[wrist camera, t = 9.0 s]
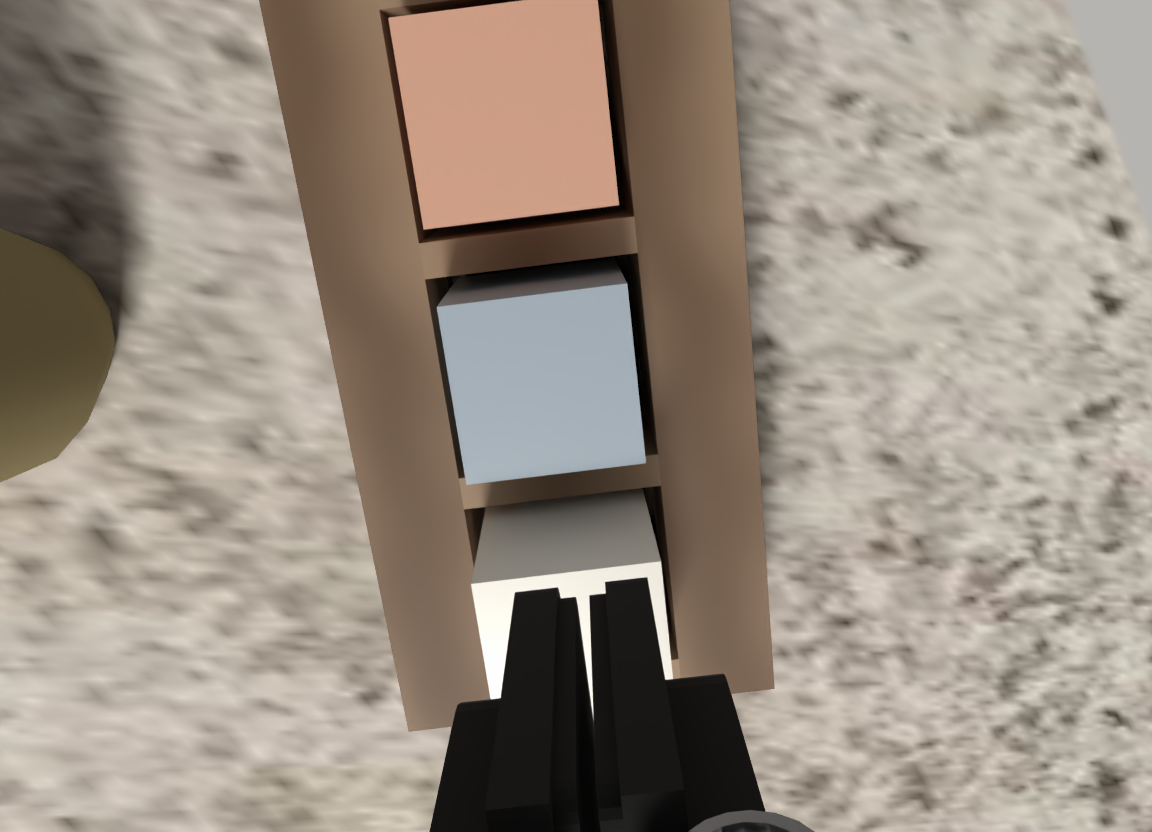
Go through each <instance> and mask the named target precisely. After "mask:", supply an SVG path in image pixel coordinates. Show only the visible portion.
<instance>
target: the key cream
mask: <svg viewBox="0 0 1152 832" xmlns="http://www.w3.org/2000/svg"><path fill="white" fill-rule="evenodd" d="M644 577H647V578H648V583H649V589H650V595H651V601H652V606H653V612H654V618H655V624H656V629H657V635H658V641H659V647H660V652H661V658H662V664H663V670H664V675H665V680H669V679H673V673H672V664H671V654H670V644H669V634H668V625H667V615H666V605H665V596H664V586H663V576H662V566H661V559H660V555H659V551H658V547H657V543H656V539H655V535H654V532H653V528H652V524H651V520H650V516H649V512H648V508H647V504H646V500H645V496H644V492H643V488H638V489H629V490H621V491H613V492H604V493H596V494H588V495H580V496H571V497H563V498H555V499H546V500H538V501H530V502H522V503H513V504H505V505H497V506H488V507H486V509H485V514H484V519H483V524H482V529H481V534H480V540H479V545H478V550H477V555H476V560H475V566H474V571H473V576H472V581H471V587H472V593H473V599H474V605H475V611H476V617H477V622H478V628H479V634H480V640H481V646H482V651H483V657H484V663H485V669H486V675H487V681H488V686H489V692H490V698H491V699H497V698H501V690H502V683H503V675H504V668H505V661H506V653H507V646H508V639H509V631H510V624H511V616H512V609H513V602H514V595H515V592H521V591H530V590H539V589H548V588H556V587H558V589H559V592H560V597H561V598H570V597H576V599H577V604H578V611H579V618H580V626H581V633H582V640H583V647H584V655H585V662H586V669H587V677H588V684H589V691H590V698H591V706H592V713H593V689H592V661H591V632H590V603H589V595H596V594H605V593H606V591H605V582H609V581H618V580H626V579H635V578H644ZM593 720H594V718H593Z"/></svg>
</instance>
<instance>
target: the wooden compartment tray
mask: <svg viewBox="0 0 1152 832" xmlns="http://www.w3.org/2000/svg"><path fill="white" fill-rule="evenodd" d="M514 1H522V0H259V2H260V7H261V12H262V16H263V21H264V26H265V31H266V36H267V41H268V46H269V51H270V56H271V60H272V65H273V70H274V75H275V80H276V85H277V90H278V95H279V100H280V104H281V109H282V114H283V119H284V124H285V129H286V134H287V139H288V144H289V148H290V153H291V158H292V163H293V168H294V173H295V178H296V183H297V188H298V192H299V197H300V202H301V207H302V212H303V217H304V222H305V227H306V232H307V236H308V241H309V246H310V251H311V256H312V261H313V266H314V271H315V276H316V280H317V285H318V290H319V295H320V300H321V305H322V310H323V315H324V320H325V325H326V329H327V334H328V339H329V344H330V349H331V354H332V359H333V364H334V369H335V373H336V378H337V383H338V388H339V393H340V398H341V403H342V408H343V413H344V417H345V422H346V427H347V432H348V437H349V442H350V447H351V452H352V457H353V461H354V466H355V471H356V476H357V481H358V486H359V491H360V496H361V501H362V505H363V510H364V515H365V520H366V525H367V530H368V535H369V540H370V545H371V549H372V554H373V559H374V564H375V569H376V574H377V579H378V584H379V589H380V593H381V598H382V603H383V608H384V613H385V618H386V623H387V628H388V633H389V637H390V642H391V647H392V652H393V657H394V662H395V667H396V672H397V677H398V681H399V686H400V691H401V696H402V701H403V706H404V711H405V716H406V721H407V726H408V730H409V732H410V731H418V730H427V729H435V728H444V727H452V725H453V720H454V715H455V711H456V708H457V705H458V704H459V703H461V702H470V701H479V700H488V699H491V698H490V692H489V686H488V681H487V675H486V669H485V663H484V657H483V651H482V646H481V640H480V634H479V628H478V622H477V617H476V611H475V605H474V599H473V593H472V587H471V581H472V576H473V571H474V566H475V560H476V555H477V550H478V545H479V540H480V534H481V529H482V524H483V519H484V514H485V509H484V507H488V506H497V505H505V504H513V503H522V502H530V501H538V500H546V499H555V498H563V497H571V496H580V495H588V494H596V493H604V492H613V491H621V490H629V489H638V488H646V487H652V493H653V503H654V512H655V522H656V532H657V541H658V551H659V555H660V559H661V566H662V576H663V586H664V596H665V605H666V615H667V625H668V634H669V644H670V654H671V664H672V673H673V679H678V678H687V677H696V676H705V675H714V674H725V676H726V679H727V682H728V685H729V688H730V692H731V694H734V693H743V692H751V691H760V690H768V689H774V674H773V658H772V643H771V628H770V613H769V598H768V582H767V567H766V552H765V537H764V522H763V506H762V491H761V476H760V461H759V446H758V430H757V415H756V400H755V385H754V370H753V354H752V339H751V324H750V309H749V294H748V278H747V263H746V248H745V233H744V218H743V203H742V187H741V172H740V157H739V142H738V127H737V111H736V96H735V81H734V66H733V51H732V35H731V20H730V5H729V0H598V6H599V5H602V10H603V20H604V29H605V39H606V49H607V58H608V68H609V78H610V87H611V97H612V107H613V116H614V126H615V136H616V145H617V155H618V165H619V174H620V184H621V194H622V203H623V206H616V207H608V208H600V209H592V210H584V211H576V212H568V213H560V214H552V215H544V216H536V217H529V218H521V219H513V220H505V221H497V222H489V223H481V224H473V225H465V226H457V227H449V228H441V229H439V228H433V229H425V230H424V229H423V223H422V217H421V211H420V205H419V199H418V193H417V187H416V181H415V175H414V169H413V163H412V157H411V151H410V145H409V139H408V133H407V127H406V121H405V115H404V109H403V103H402V97H401V91H400V85H399V79H398V73H397V67H396V61H395V55H394V49H393V43H392V37H391V31H390V25H389V19H388V18H390V17H398V16H406V15H413V14H421V13H429V12H437V11H444V10H452V9H460V8H468V7H475V6H483V5H491V4H499V3H506V2H514ZM625 254H628V261H629V271H630V281H631V290H632V300H633V310H634V319H635V329H636V338H637V348H638V358H639V367H640V377H641V387H642V396H643V406H644V412H641V420H642V429H643V439H644V448H645V458H646V463H644V464H636V465H627V466H619V467H611V468H603V469H594V470H586V471H578V472H570V473H561V474H553V475H545V476H536V477H528V478H520V479H512V480H503V481H495V482H487V483H479V484H470V485H466V479H465V473H464V467H463V461H462V455H461V449H460V444H459V438H458V432H457V426H456V420H455V414H454V408H453V402H452V396H451V390H450V384H449V378H448V372H447V366H446V360H445V354H444V348H443V342H442V336H441V330H440V324H439V318H438V312H437V306H438V304H439V303H440V302H441V300H442V299H443V298H444V296H445V295H446V293H447V292H448V291H449V287H448V281H447V277H448V276H456V275H464V274H472V273H480V272H488V271H497V270H505V269H513V268H521V267H529V266H537V265H545V264H553V263H561V262H569V261H577V260H585V259H593V258H601V257H609V256H617V255H625Z"/></svg>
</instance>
